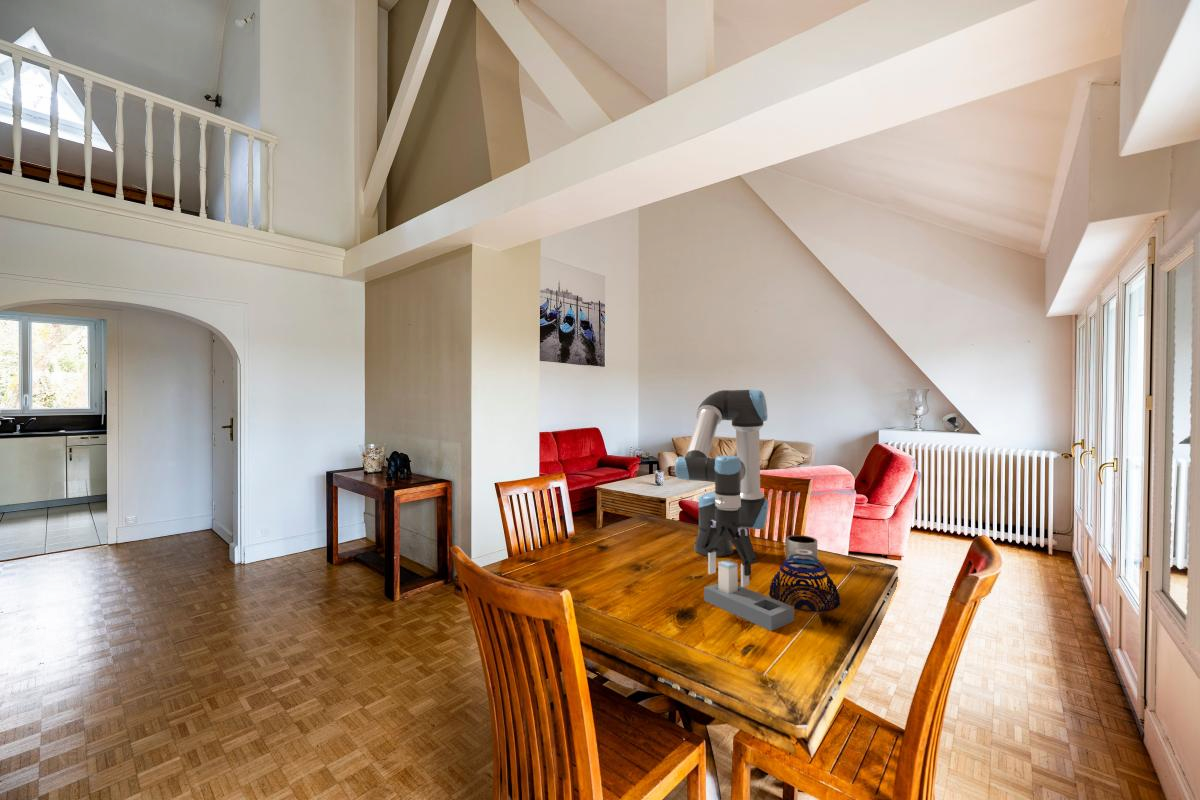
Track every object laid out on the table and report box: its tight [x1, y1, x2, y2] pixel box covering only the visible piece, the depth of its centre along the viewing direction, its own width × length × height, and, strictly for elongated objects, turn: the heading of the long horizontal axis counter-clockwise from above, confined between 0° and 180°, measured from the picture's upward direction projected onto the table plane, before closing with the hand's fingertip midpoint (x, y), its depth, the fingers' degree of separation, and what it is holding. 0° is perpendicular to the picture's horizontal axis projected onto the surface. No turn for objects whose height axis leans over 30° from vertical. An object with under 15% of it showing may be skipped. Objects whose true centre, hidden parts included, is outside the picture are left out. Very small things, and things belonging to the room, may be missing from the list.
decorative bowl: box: [768, 549, 841, 613], centre depth 153 cm, size 20×20×14 cm
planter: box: [785, 534, 819, 569], centre depth 183 cm, size 11×11×10 cm
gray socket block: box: [703, 582, 795, 632], centre depth 144 cm, size 10×24×4 cm, turn 35°
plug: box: [717, 559, 739, 594], centre depth 150 cm, size 4×4×12 cm
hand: (727, 579), depth 150 cm, fingers open, 12 cm apart
